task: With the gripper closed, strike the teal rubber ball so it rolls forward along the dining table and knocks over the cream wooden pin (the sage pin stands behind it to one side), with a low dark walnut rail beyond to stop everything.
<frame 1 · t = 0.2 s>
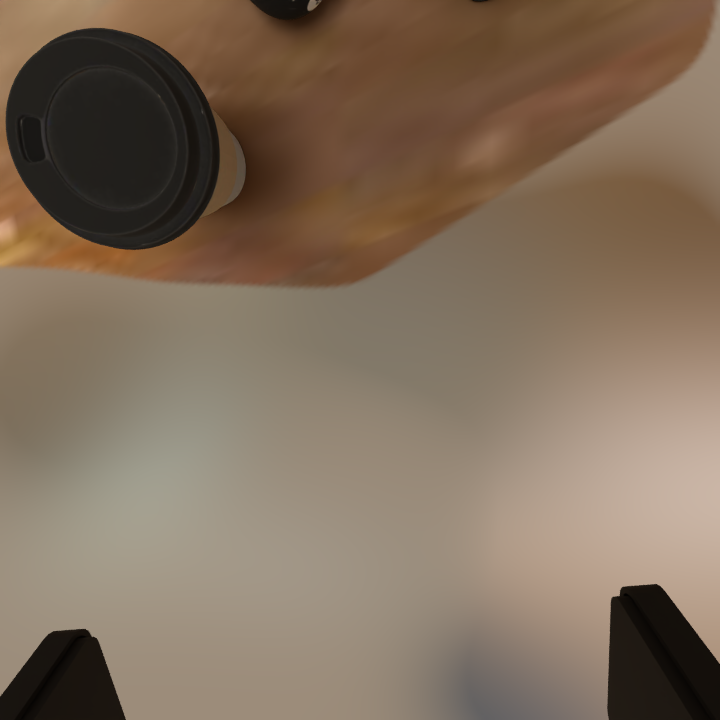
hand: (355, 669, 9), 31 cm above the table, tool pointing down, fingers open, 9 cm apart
coffee cup: (208, 166, 36), on the table
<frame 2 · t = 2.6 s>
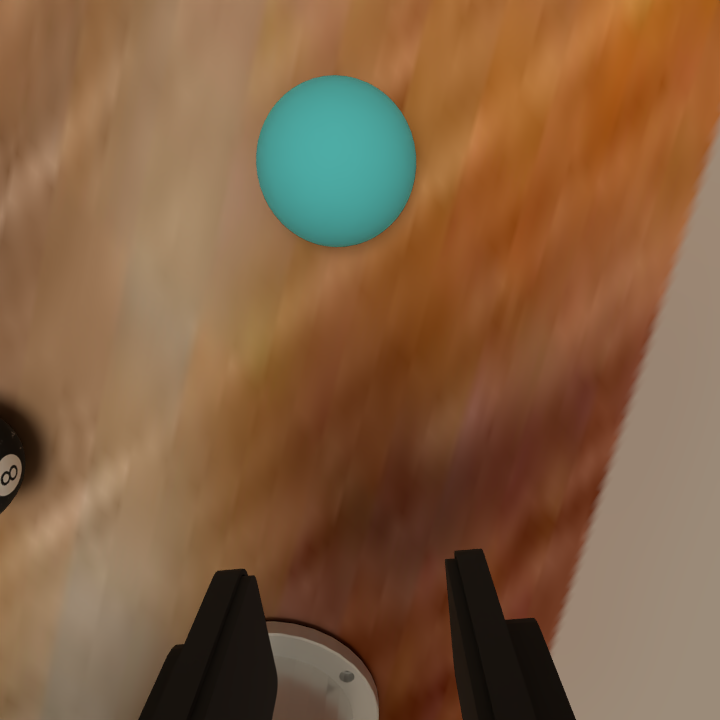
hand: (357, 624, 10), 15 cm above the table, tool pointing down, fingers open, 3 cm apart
ball: (336, 166, 19), on the table
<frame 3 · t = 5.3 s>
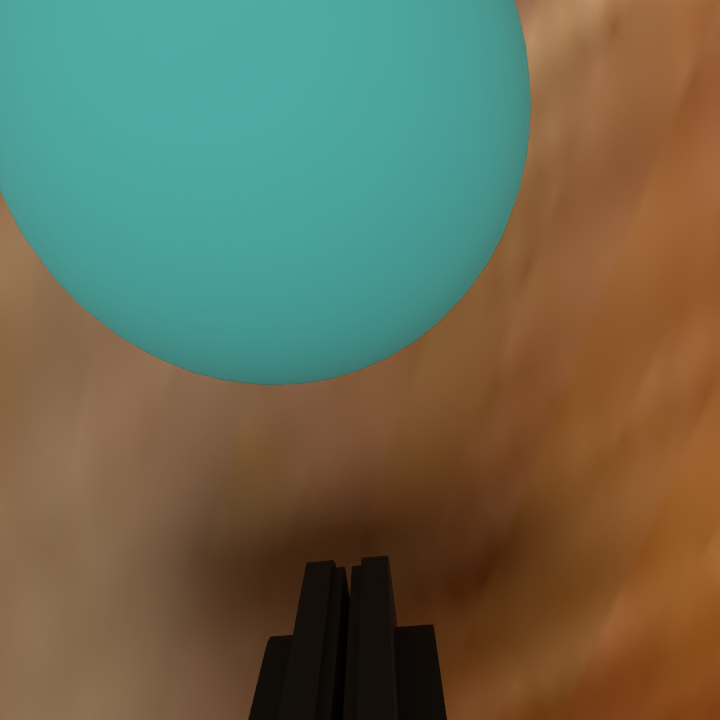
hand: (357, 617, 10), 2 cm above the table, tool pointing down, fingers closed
ball: (276, 143, 6), on the table
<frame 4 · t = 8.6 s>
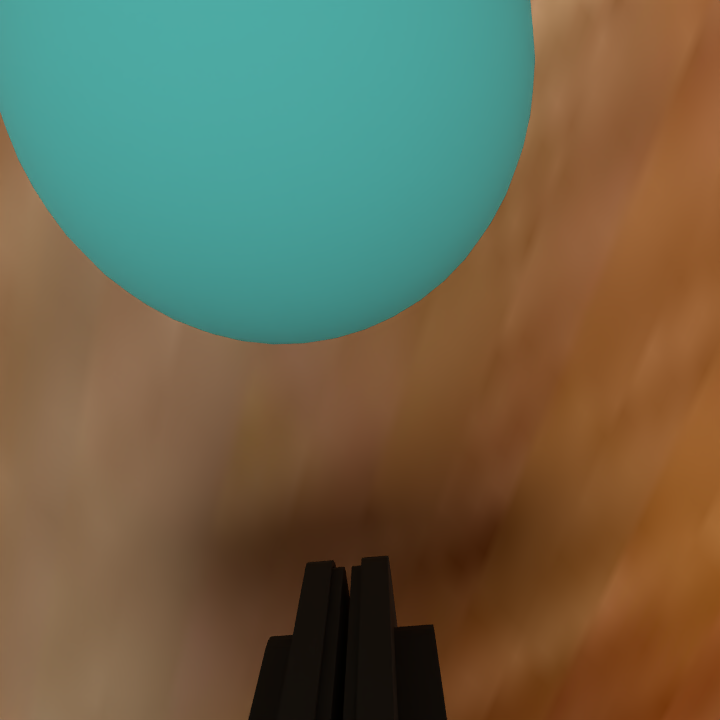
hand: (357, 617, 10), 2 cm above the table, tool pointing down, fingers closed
ball: (282, 105, 6), on the table
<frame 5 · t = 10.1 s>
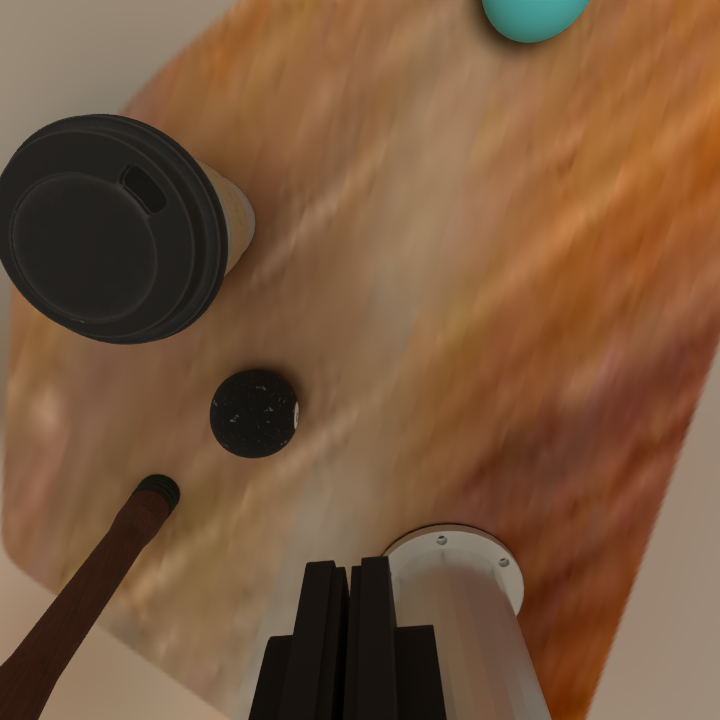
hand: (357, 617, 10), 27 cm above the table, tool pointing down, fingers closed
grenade: (160, 490, 40), on the table
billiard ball: (264, 395, 38), on the table
coffee cup: (211, 221, 34), on the table
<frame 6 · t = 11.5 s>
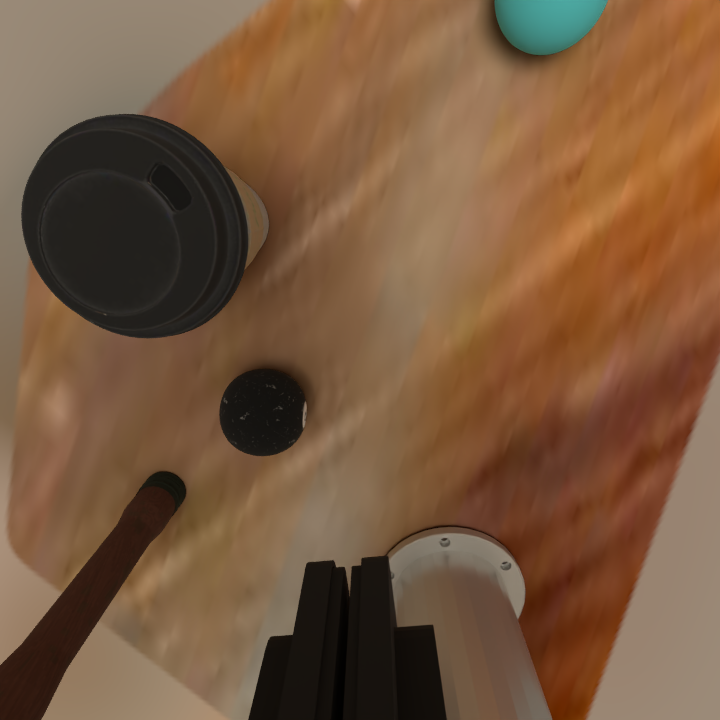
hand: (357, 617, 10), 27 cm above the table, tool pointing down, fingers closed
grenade: (167, 487, 41), on the table
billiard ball: (272, 395, 38), on the table
coffee cup: (226, 222, 34), on the table
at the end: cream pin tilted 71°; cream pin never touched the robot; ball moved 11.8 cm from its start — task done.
